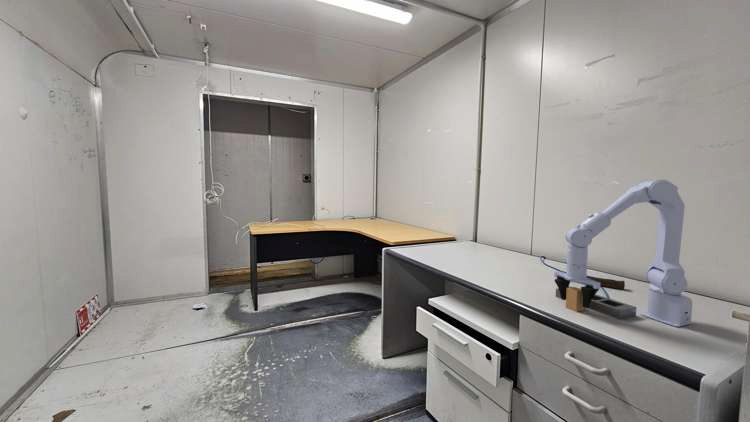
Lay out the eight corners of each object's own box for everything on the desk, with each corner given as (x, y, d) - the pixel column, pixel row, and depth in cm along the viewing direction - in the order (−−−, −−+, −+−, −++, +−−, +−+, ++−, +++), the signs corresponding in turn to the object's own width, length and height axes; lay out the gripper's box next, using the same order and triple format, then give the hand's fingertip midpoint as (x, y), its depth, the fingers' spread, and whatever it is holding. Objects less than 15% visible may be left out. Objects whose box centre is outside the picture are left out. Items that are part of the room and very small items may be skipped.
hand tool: (624, 289, 124) (625, 278, 124) (624, 291, 121) (624, 280, 121) (570, 280, 136) (571, 270, 136) (569, 282, 133) (569, 272, 133)
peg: (583, 310, 101) (584, 290, 100) (575, 311, 100) (577, 291, 99) (573, 306, 104) (574, 286, 104) (565, 307, 103) (566, 287, 103)
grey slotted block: (635, 316, 96) (636, 307, 96) (619, 319, 93) (620, 310, 93) (570, 294, 117) (570, 286, 117) (555, 296, 114) (555, 288, 114)
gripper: (548, 260, 106) (547, 297, 107) (590, 270, 93) (588, 312, 94) (563, 258, 109) (561, 295, 110) (605, 268, 95) (603, 309, 96)
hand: (574, 303), depth 102 cm, fingers open, 7 cm apart
